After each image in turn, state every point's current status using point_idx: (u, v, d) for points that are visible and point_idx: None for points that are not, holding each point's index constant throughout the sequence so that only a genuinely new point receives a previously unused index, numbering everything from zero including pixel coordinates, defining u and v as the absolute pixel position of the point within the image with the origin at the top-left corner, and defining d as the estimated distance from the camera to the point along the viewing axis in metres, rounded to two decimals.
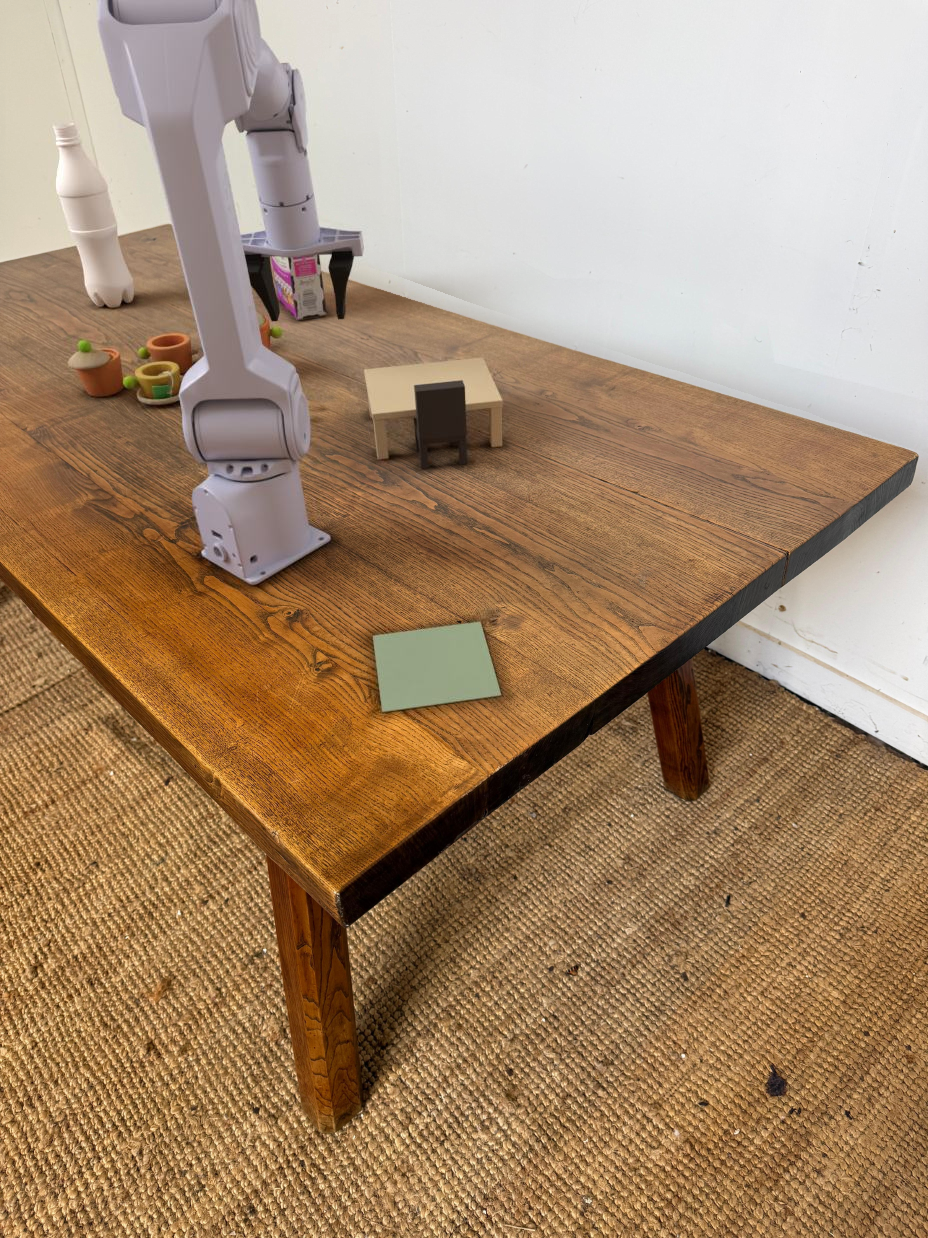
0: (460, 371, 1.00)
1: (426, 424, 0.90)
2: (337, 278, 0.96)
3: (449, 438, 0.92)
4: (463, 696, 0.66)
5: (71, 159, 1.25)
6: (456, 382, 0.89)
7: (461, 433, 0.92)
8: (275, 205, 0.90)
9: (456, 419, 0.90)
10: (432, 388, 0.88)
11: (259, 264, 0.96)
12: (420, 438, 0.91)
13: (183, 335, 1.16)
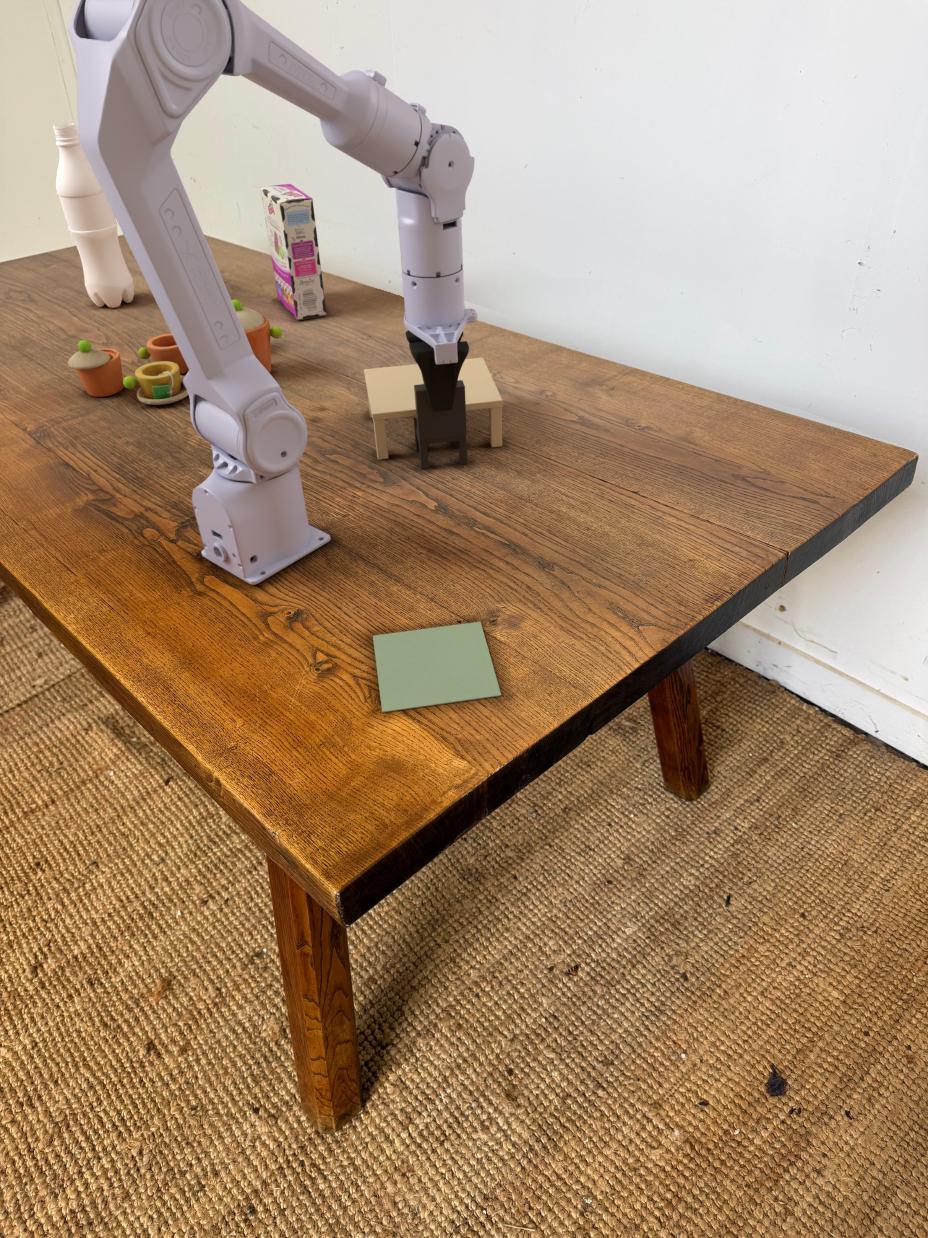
0: (460, 371, 1.00)
1: (426, 424, 0.90)
2: None
3: (449, 438, 0.92)
4: (463, 696, 0.66)
5: (71, 159, 1.25)
6: None
7: (461, 433, 0.92)
8: None
9: (456, 418, 0.91)
10: None
11: None
12: (420, 438, 0.91)
13: None
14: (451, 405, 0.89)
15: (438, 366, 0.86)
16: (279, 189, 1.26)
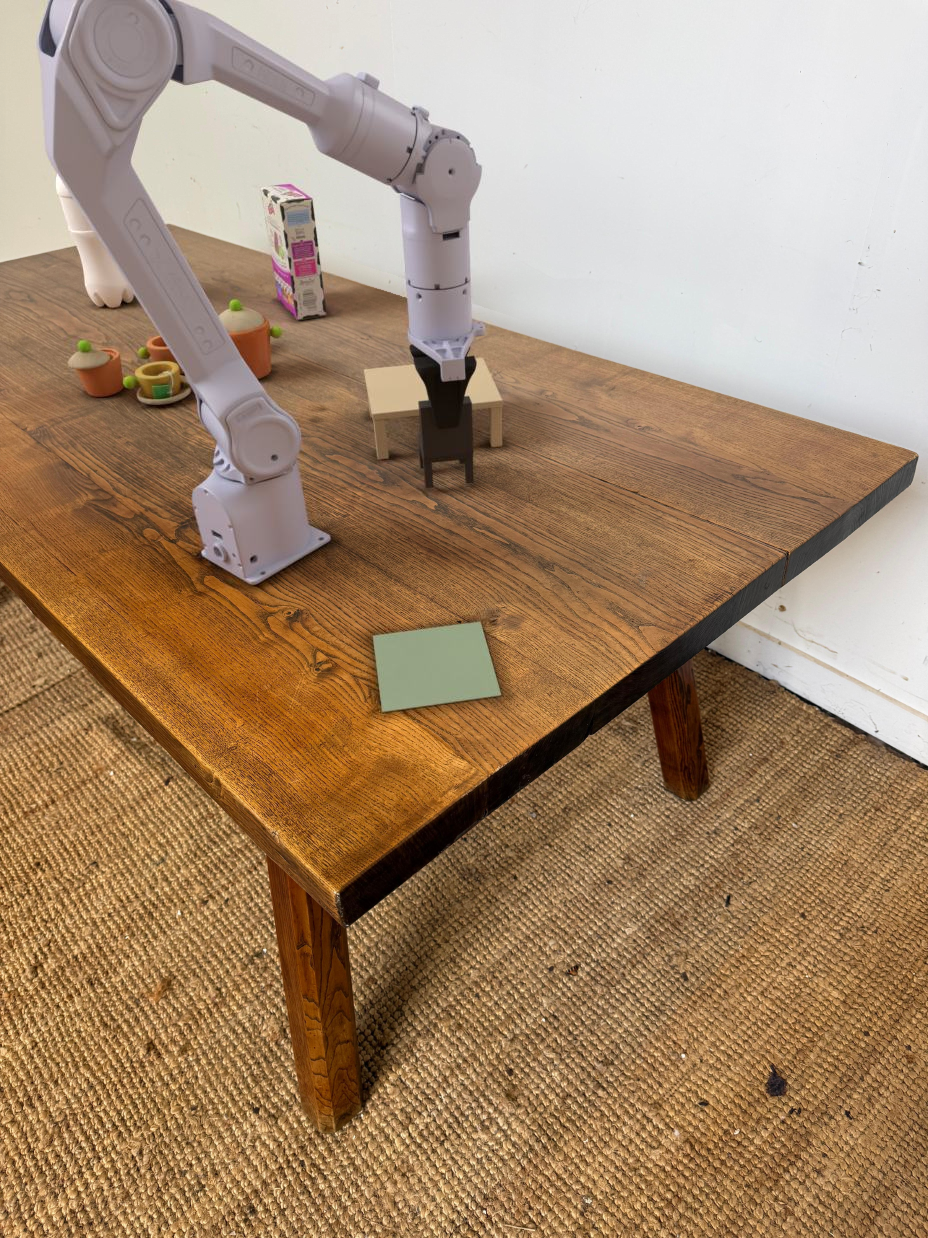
0: None
1: (431, 442, 0.86)
2: None
3: (455, 456, 0.88)
4: (463, 696, 0.66)
5: None
6: None
7: (467, 451, 0.87)
8: None
9: (462, 436, 0.86)
10: None
11: None
12: (424, 456, 0.87)
13: None
14: (457, 422, 0.84)
15: (444, 382, 0.82)
16: (279, 189, 1.26)
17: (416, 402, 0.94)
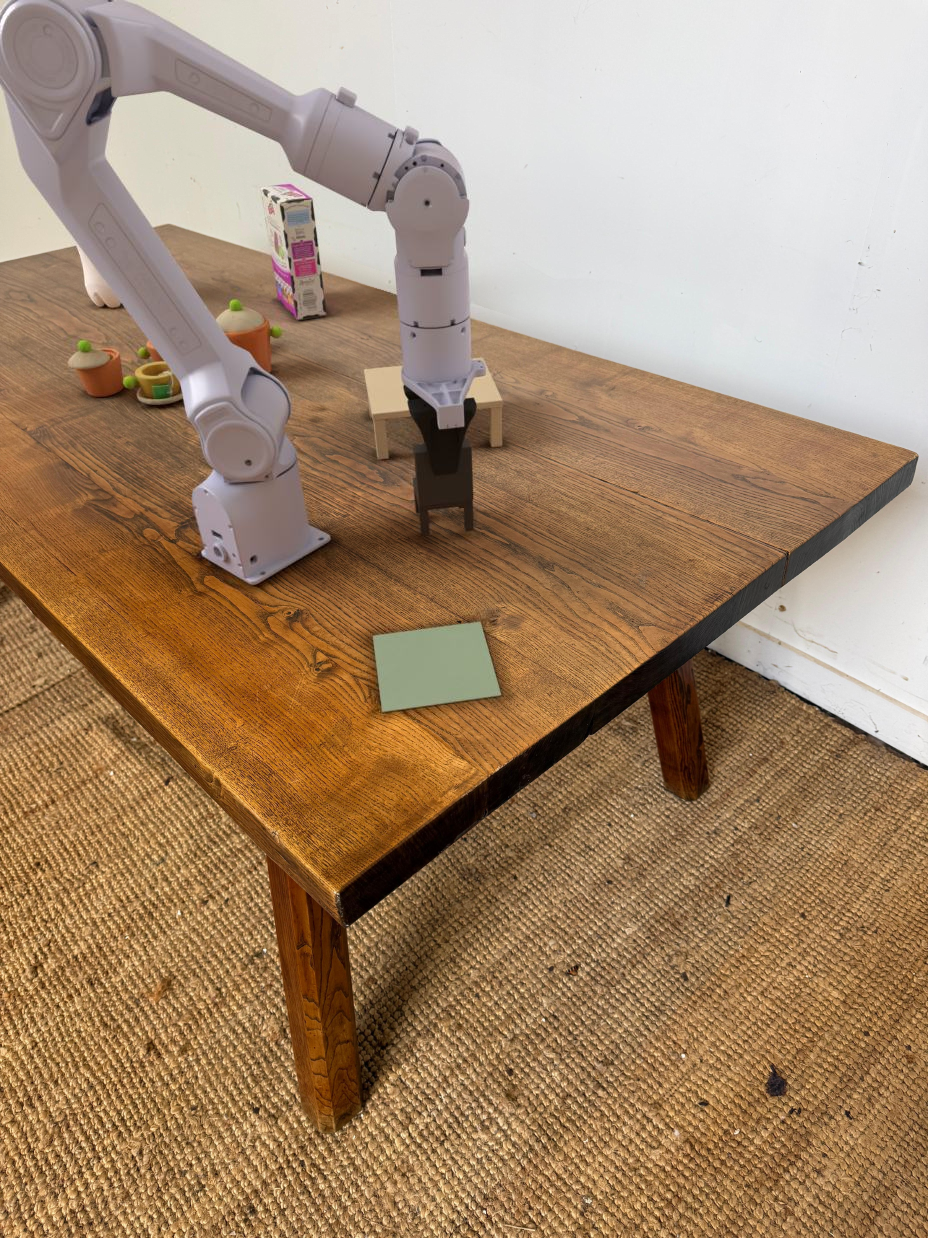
0: None
1: (427, 489, 0.79)
2: None
3: (453, 503, 0.81)
4: (463, 696, 0.66)
5: None
6: None
7: (467, 498, 0.80)
8: None
9: (461, 482, 0.79)
10: None
11: None
12: (420, 504, 0.80)
13: None
14: (456, 468, 0.77)
15: None
16: (279, 189, 1.26)
17: None
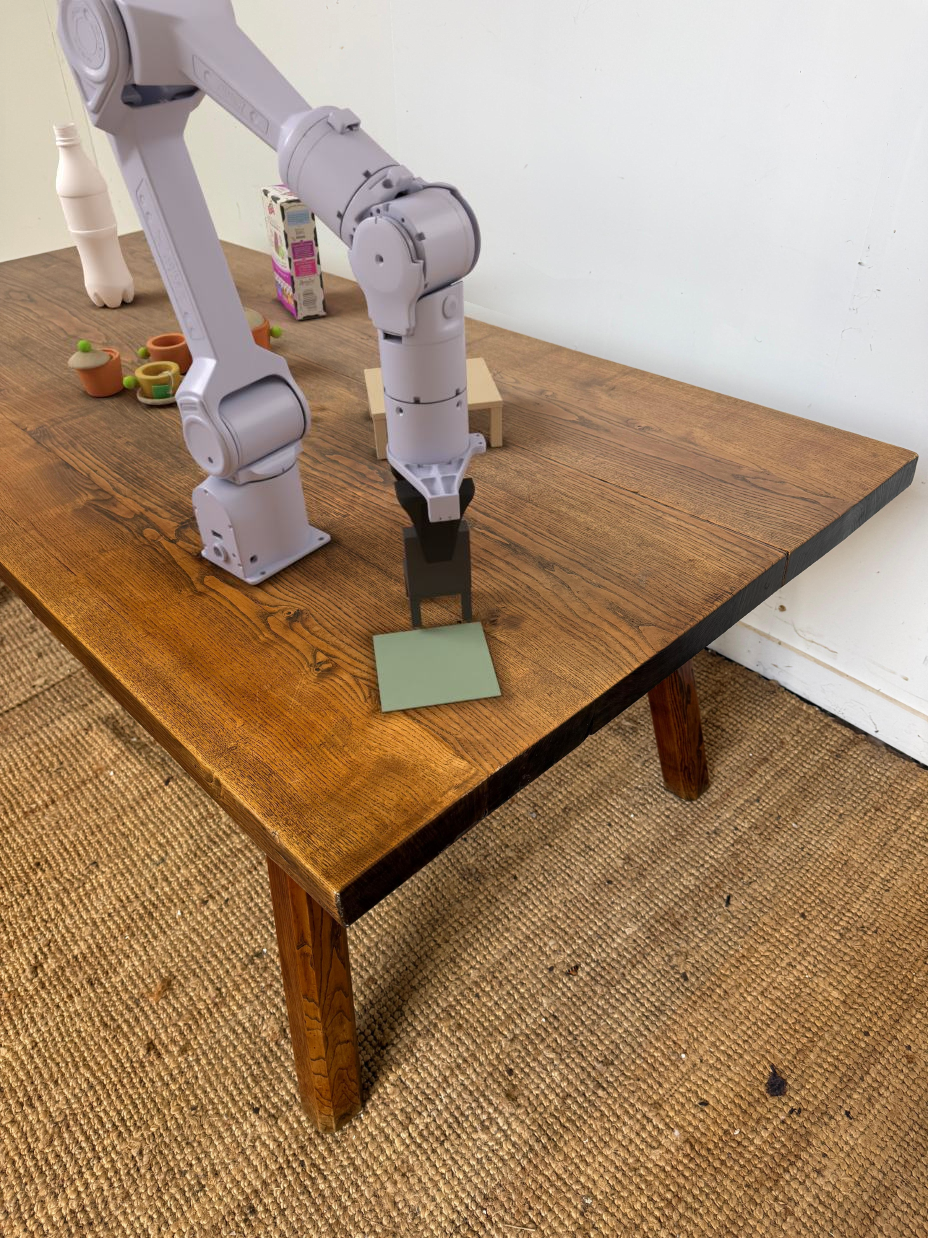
0: None
1: (419, 577, 0.68)
2: None
3: (449, 591, 0.70)
4: (463, 696, 0.66)
5: (71, 159, 1.25)
6: None
7: (464, 586, 0.70)
8: None
9: (457, 569, 0.69)
10: None
11: None
12: (410, 593, 0.69)
13: (183, 335, 1.16)
14: (451, 555, 0.67)
15: None
16: (279, 189, 1.26)
17: None
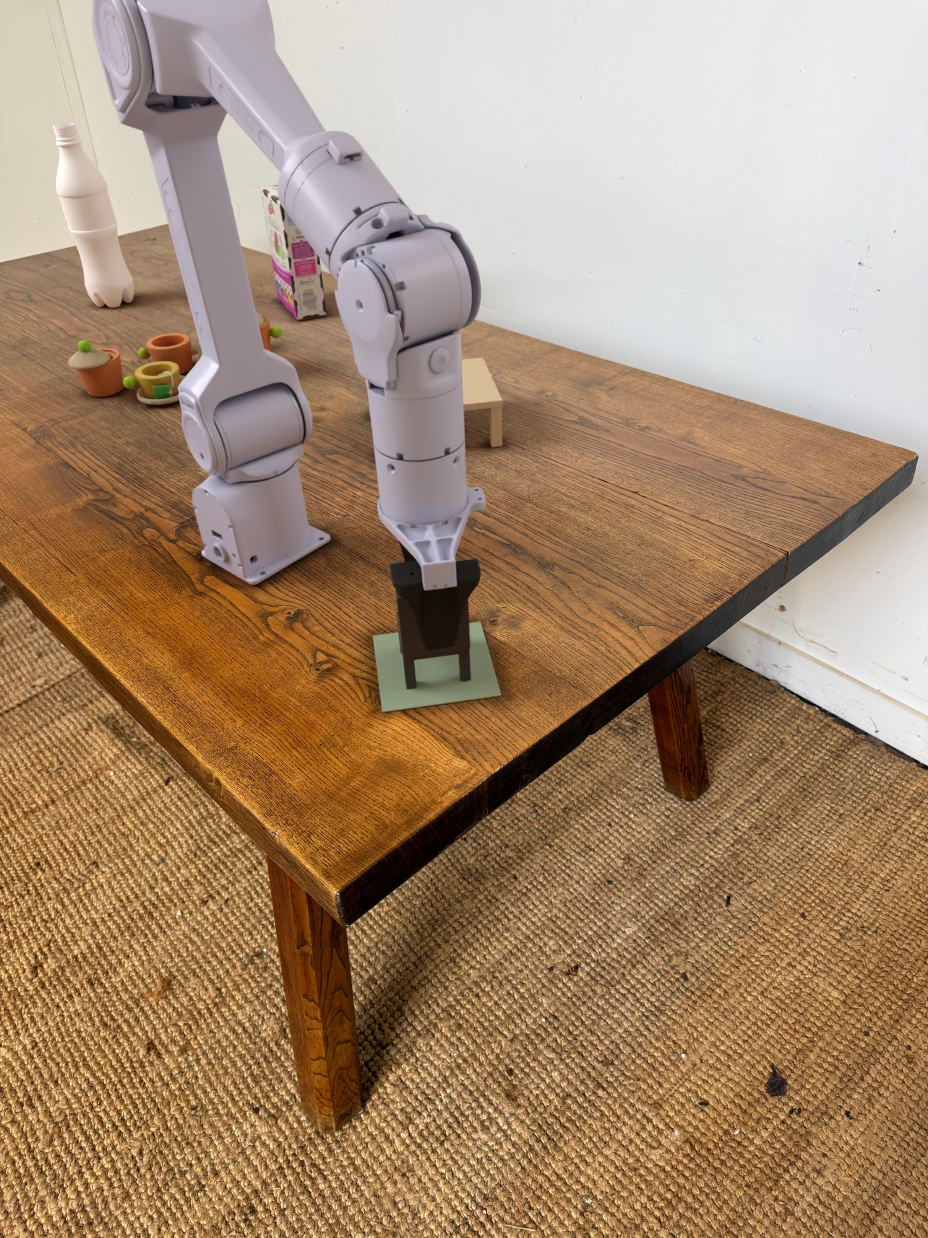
0: None
1: (413, 638, 0.64)
2: None
3: (445, 652, 0.65)
4: (463, 696, 0.66)
5: (71, 159, 1.25)
6: None
7: (462, 646, 0.65)
8: None
9: None
10: None
11: None
12: (404, 655, 0.64)
13: (183, 335, 1.16)
14: (453, 641, 0.60)
15: (434, 594, 0.57)
16: None
17: None
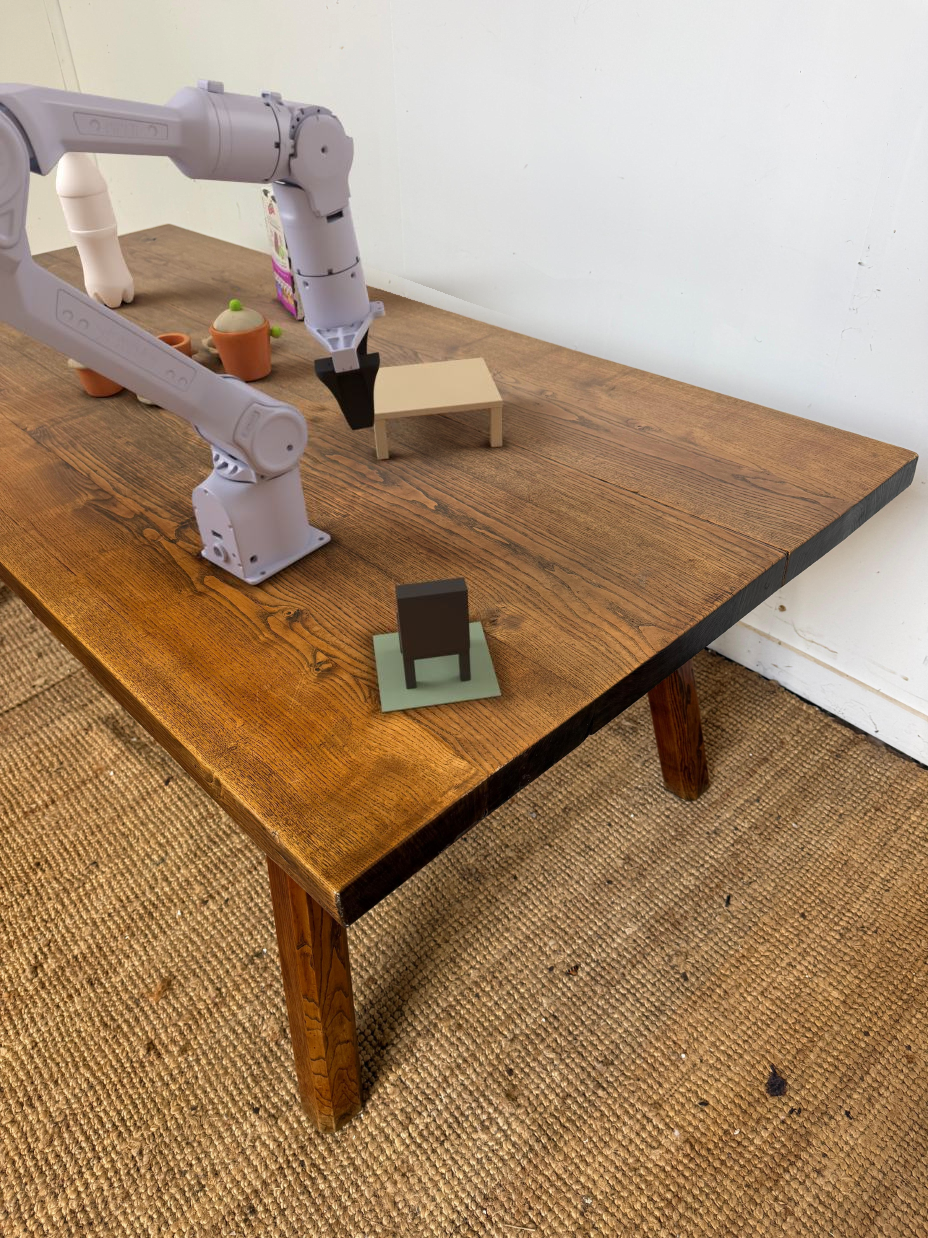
0: (460, 371, 1.00)
1: (413, 638, 0.64)
2: None
3: (445, 652, 0.65)
4: (463, 696, 0.66)
5: (71, 159, 1.25)
6: (455, 581, 0.62)
7: (462, 646, 0.65)
8: None
9: (455, 630, 0.64)
10: (420, 594, 0.61)
11: None
12: (404, 655, 0.64)
13: (183, 335, 1.16)
14: (372, 422, 0.80)
15: (350, 382, 0.77)
16: None
17: (416, 402, 0.94)
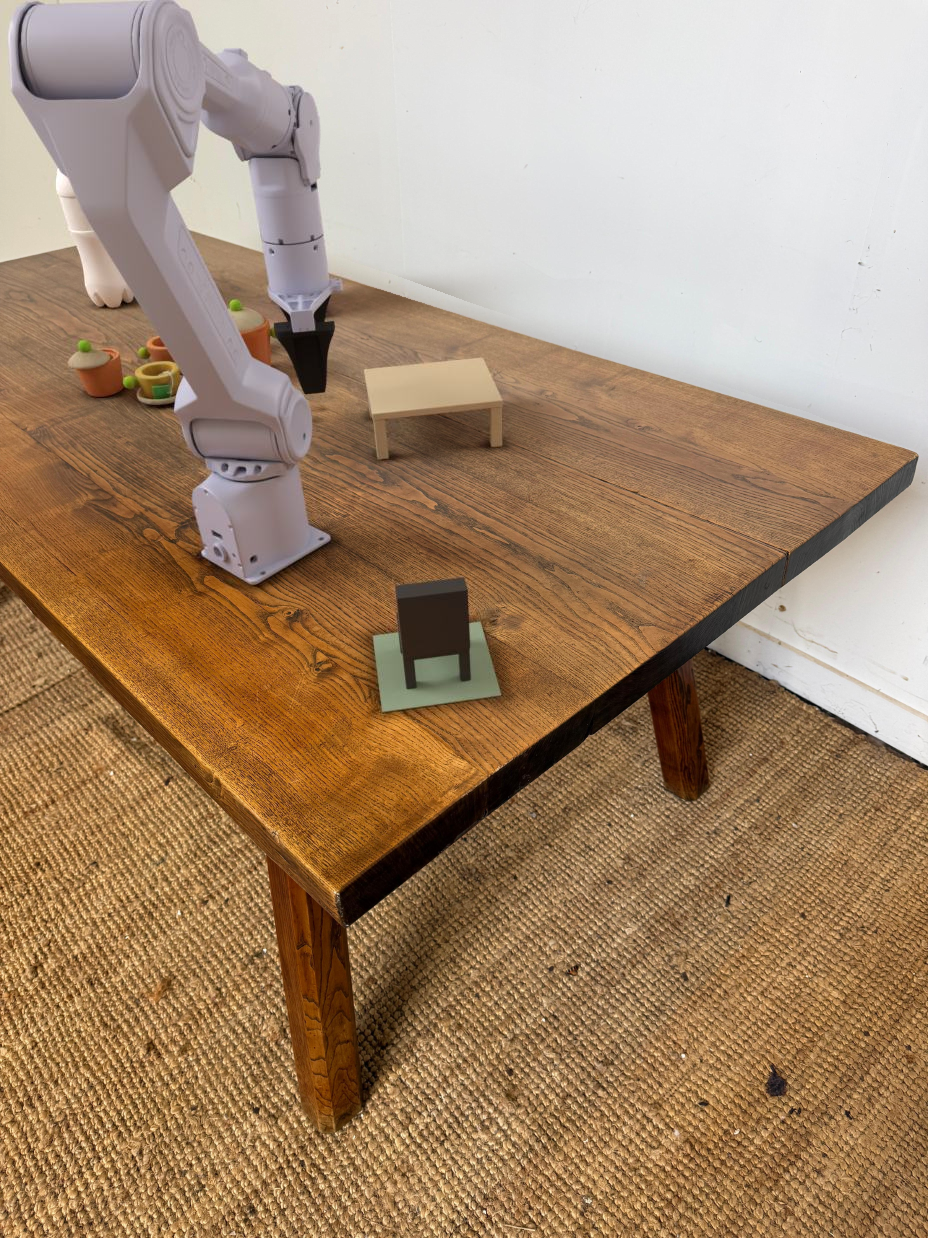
0: (460, 371, 1.00)
1: (413, 638, 0.64)
2: None
3: (445, 652, 0.65)
4: (463, 696, 0.66)
5: None
6: (455, 581, 0.62)
7: (462, 646, 0.65)
8: None
9: (455, 630, 0.64)
10: (420, 594, 0.61)
11: None
12: (404, 655, 0.64)
13: None
14: (323, 388, 0.86)
15: (306, 347, 0.83)
16: None
17: (416, 402, 0.94)
